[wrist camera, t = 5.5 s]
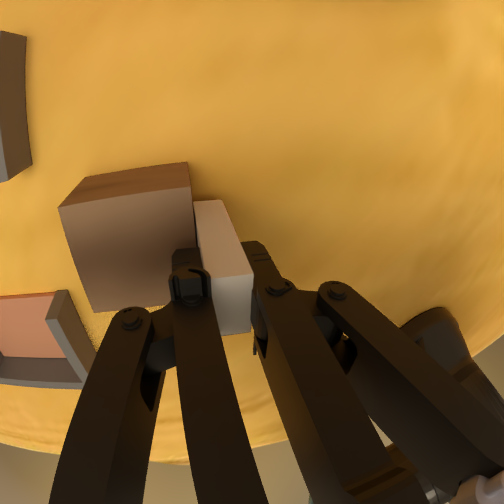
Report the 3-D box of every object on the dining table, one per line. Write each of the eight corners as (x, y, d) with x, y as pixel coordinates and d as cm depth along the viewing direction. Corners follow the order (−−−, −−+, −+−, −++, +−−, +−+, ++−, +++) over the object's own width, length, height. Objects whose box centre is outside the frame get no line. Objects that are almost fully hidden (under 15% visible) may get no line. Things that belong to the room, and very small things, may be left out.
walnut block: (195, 254, 18) (203, 299, 15) (106, 265, 17) (94, 312, 13) (187, 161, 15) (190, 186, 11) (85, 177, 14) (57, 207, 10)
